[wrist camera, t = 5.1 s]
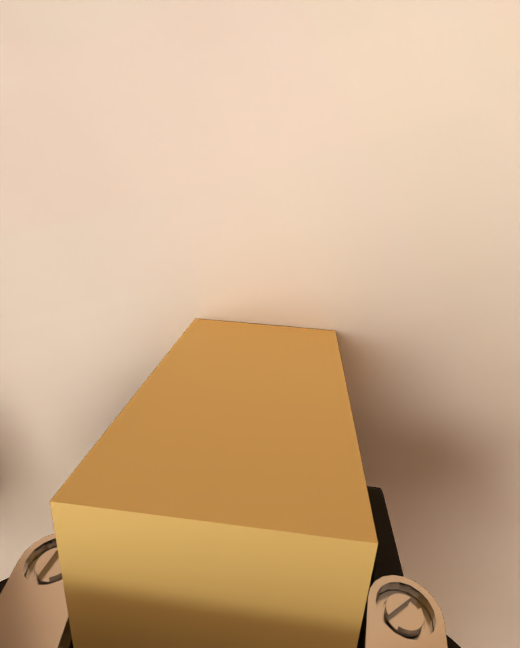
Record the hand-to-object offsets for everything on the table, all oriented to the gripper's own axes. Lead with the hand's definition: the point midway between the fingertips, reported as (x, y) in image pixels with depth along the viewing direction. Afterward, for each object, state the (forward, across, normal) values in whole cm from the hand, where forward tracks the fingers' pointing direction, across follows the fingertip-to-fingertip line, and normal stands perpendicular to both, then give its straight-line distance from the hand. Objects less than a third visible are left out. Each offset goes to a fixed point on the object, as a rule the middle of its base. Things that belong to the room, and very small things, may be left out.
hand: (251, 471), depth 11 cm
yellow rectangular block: (+1, 0, 0) cm, 1 cm away
